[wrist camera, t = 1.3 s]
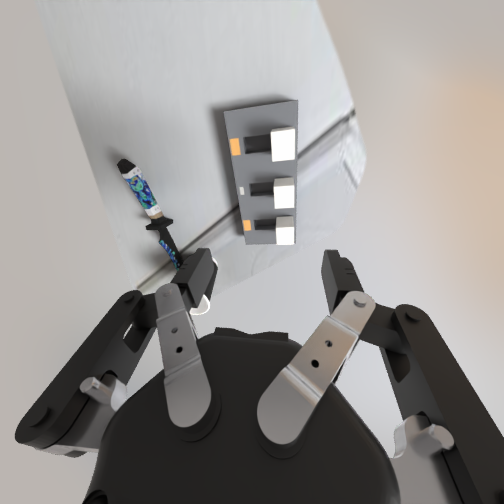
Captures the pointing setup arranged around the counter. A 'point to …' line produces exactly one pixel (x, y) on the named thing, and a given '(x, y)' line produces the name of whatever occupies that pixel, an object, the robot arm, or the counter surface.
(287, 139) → the tab near
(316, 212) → the counter surface
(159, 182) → the counter surface
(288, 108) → the switch block
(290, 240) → the tab far
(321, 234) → the counter surface
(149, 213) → the knife
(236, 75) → the counter surface
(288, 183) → the tab middle
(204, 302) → the dixie cup
